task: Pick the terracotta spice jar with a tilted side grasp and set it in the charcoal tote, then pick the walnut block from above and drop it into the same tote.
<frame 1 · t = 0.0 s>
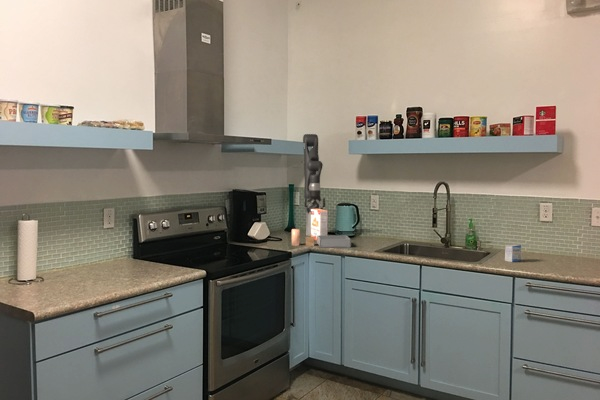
hand: (314, 213, 346), 17 cm above the worktop, tool pointing down, fingers open, 8 cm apart
walnut block: (309, 245, 319), on the worktop
spice jar: (295, 245, 319), on the worktop
tote: (333, 245, 319), on the worktop
cracker box: (318, 240, 338), on the worktop
medicine box: (512, 261, 272), on the worktop
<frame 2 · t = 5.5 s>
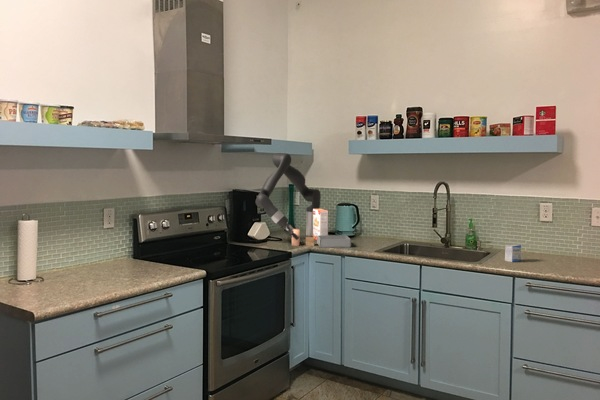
hand: (298, 238, 318), 4 cm above the worktop, tool tilted 45°, fingers closed on spice jar, 5 cm apart
spice jar: (295, 245, 319), on the worktop, touching gripper
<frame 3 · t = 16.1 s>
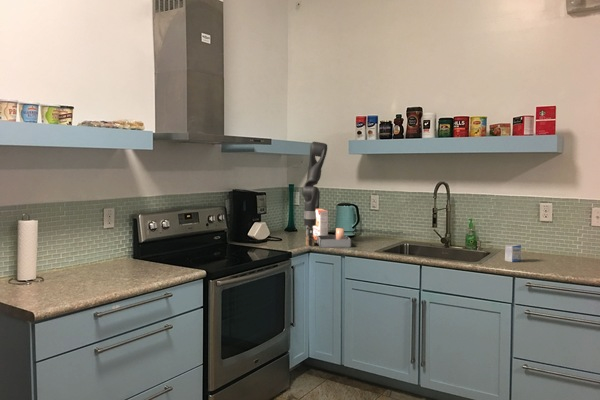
hand: (309, 244, 319), 0 cm above the worktop, tool pointing down, fingers closed on walnut block, 5 cm apart
walnut block: (309, 245, 319), on the worktop, touching gripper
spice jar: (339, 244, 319), point 1 cm above the worktop, touching tote
everything else where it was.
when the fingers open (3 cm above the worktop, at t = 20.6 s): walnut block drops 2 cm, resting on tote.
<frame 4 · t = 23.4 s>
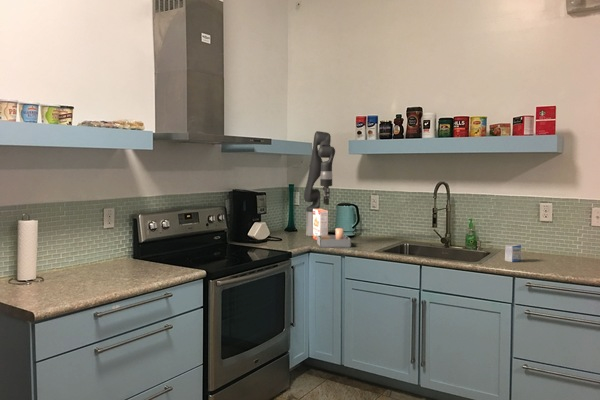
hand: (326, 204, 316), 26 cm above the worktop, tool pointing down, fingers open, 8 cm apart
walnut block: (325, 244, 318), point 1 cm above the worktop, touching tote
everything else where it was.
at the end: spice jar inside the target area on the tote (3.9 cm from its centre), point 0.7 cm above the tote's base; walnut block inside the target area on the tote (5.0 cm from its centre), point 0.6 cm above the tote's base; the gripper is holding nothing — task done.
